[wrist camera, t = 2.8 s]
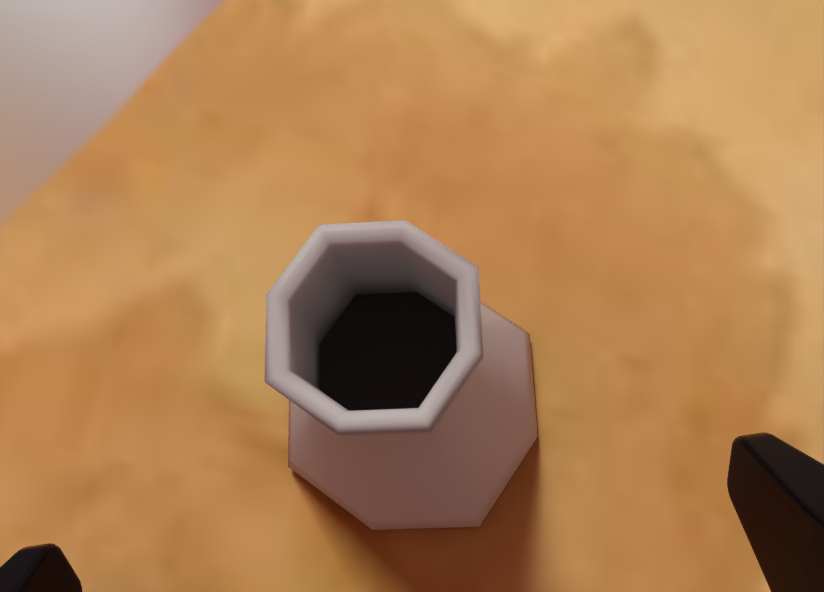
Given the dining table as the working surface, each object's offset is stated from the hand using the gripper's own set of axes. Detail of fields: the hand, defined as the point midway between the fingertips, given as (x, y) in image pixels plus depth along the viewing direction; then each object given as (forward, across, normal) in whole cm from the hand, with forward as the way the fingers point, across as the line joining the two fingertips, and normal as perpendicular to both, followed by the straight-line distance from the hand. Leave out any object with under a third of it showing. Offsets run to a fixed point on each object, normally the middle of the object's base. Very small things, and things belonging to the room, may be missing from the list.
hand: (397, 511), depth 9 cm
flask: (+9, 0, +5) cm, 10 cm away
